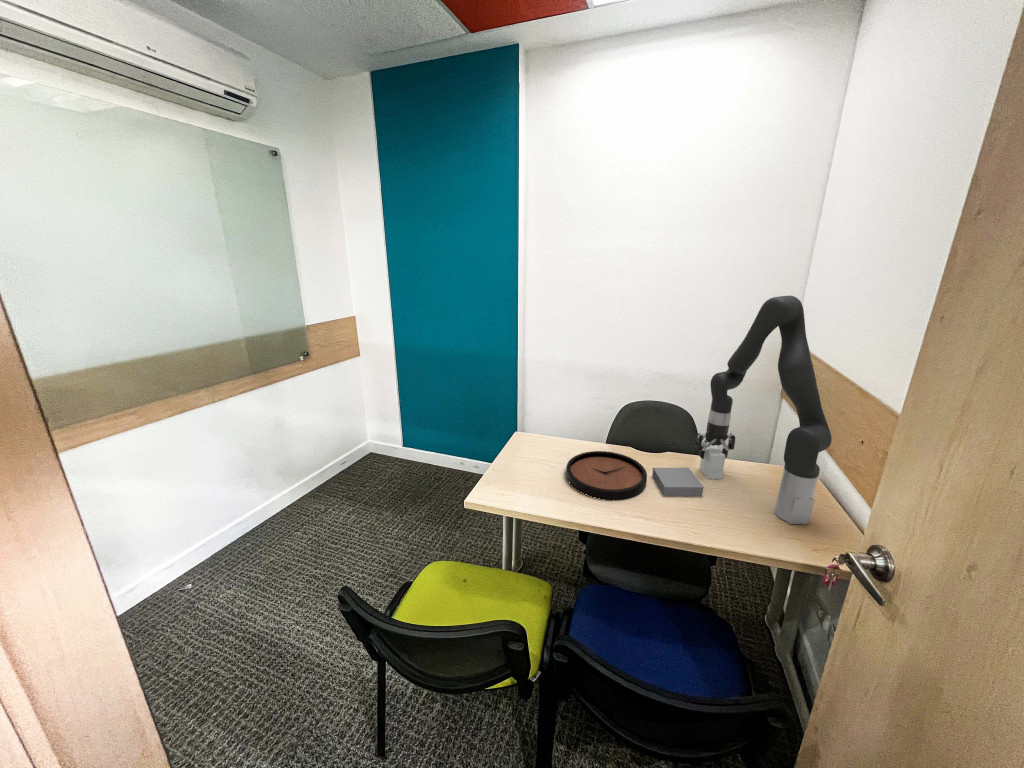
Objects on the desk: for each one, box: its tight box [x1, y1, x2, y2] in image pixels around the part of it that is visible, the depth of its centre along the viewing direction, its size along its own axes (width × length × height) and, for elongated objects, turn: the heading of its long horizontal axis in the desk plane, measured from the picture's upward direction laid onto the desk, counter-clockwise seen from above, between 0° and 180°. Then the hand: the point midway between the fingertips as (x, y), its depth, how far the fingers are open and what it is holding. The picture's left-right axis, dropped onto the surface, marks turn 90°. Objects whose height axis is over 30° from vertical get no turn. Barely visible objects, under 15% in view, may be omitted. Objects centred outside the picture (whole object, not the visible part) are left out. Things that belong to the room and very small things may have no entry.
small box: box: [699, 446, 726, 480], centre depth 160 cm, size 8×6×10 cm
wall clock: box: [565, 450, 648, 501], centre depth 159 cm, size 31×4×31 cm
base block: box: [652, 467, 704, 498], centre depth 153 cm, size 14×14×4 cm
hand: (712, 458), depth 159 cm, fingers open, 8 cm apart
